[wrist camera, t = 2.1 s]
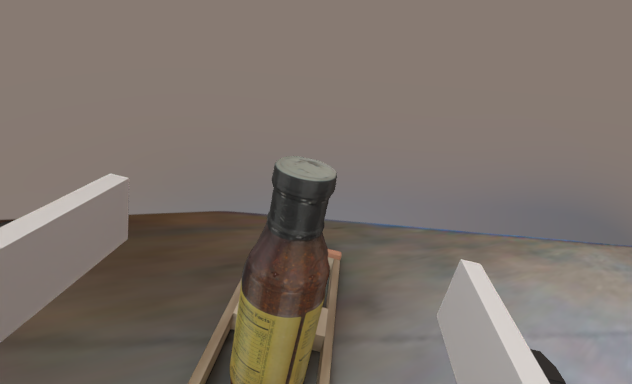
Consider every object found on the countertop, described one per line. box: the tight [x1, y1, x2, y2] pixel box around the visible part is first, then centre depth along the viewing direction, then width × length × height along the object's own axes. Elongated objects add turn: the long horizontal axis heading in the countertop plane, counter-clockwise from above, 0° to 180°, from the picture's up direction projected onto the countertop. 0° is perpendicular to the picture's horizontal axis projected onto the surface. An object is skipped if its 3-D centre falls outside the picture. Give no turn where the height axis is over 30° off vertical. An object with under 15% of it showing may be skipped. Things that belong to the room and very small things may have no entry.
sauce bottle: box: [230, 156, 337, 384], centre depth 27 cm, size 7×6×20 cm
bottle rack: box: [188, 249, 341, 384], centre depth 37 cm, size 11×26×3 cm, turn 174°
